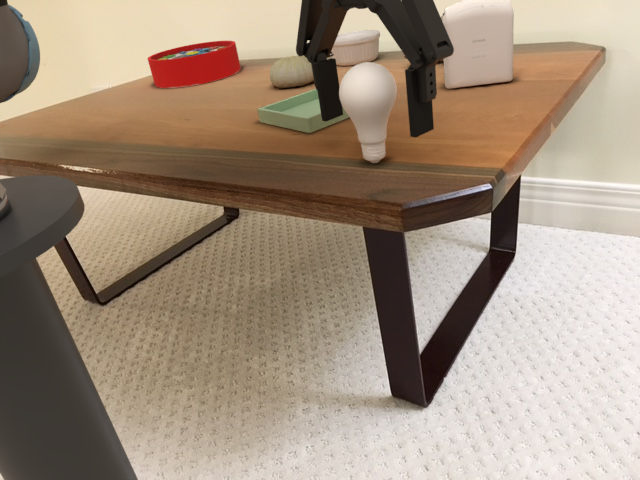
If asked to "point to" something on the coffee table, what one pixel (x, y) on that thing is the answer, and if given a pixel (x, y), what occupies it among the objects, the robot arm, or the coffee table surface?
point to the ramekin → (356, 47)
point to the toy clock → (194, 64)
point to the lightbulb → (369, 105)
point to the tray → (297, 113)
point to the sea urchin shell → (291, 72)
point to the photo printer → (479, 43)
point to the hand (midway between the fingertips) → (373, 125)
